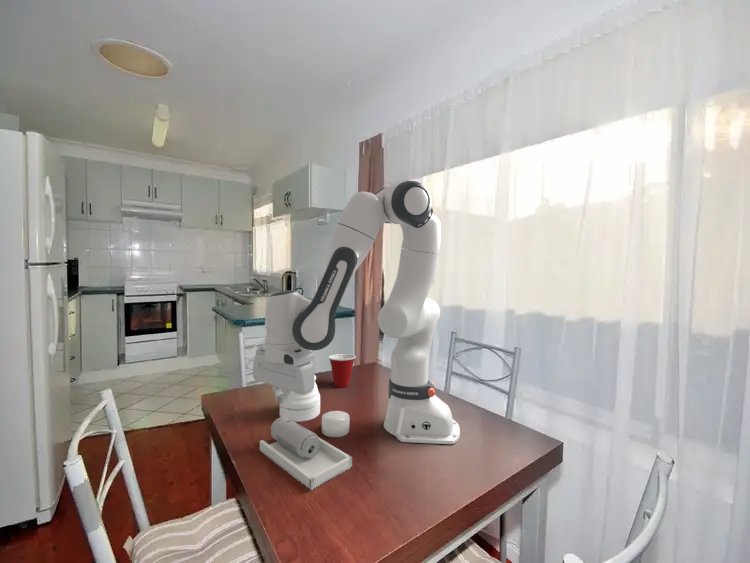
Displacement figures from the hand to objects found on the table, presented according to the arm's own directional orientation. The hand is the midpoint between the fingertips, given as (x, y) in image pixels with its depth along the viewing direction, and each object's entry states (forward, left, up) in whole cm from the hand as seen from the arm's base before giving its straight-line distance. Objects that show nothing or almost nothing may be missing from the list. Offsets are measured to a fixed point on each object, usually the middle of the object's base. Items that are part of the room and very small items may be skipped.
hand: (281, 402), depth 92 cm
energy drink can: (+2, -1, -8) cm, 8 cm away
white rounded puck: (-12, -10, -11) cm, 19 cm away
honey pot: (+3, -18, -11) cm, 22 cm away
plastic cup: (-2, -45, -11) cm, 47 cm away
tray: (-9, +5, -11) cm, 15 cm away
